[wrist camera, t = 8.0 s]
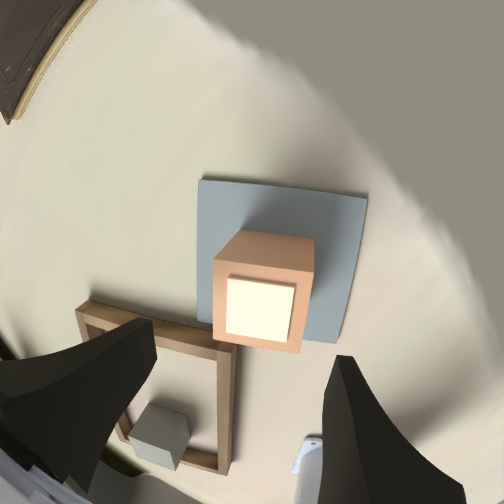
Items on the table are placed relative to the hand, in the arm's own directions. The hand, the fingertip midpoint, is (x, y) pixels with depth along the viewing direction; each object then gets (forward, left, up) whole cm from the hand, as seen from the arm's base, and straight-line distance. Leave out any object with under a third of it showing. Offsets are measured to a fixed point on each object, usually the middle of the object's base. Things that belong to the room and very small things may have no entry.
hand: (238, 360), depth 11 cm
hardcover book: (+27, -24, -10) cm, 38 cm away
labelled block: (0, 0, -8) cm, 9 cm away
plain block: (+9, +20, -9) cm, 24 cm away
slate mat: (0, 0, -9) cm, 9 cm away
